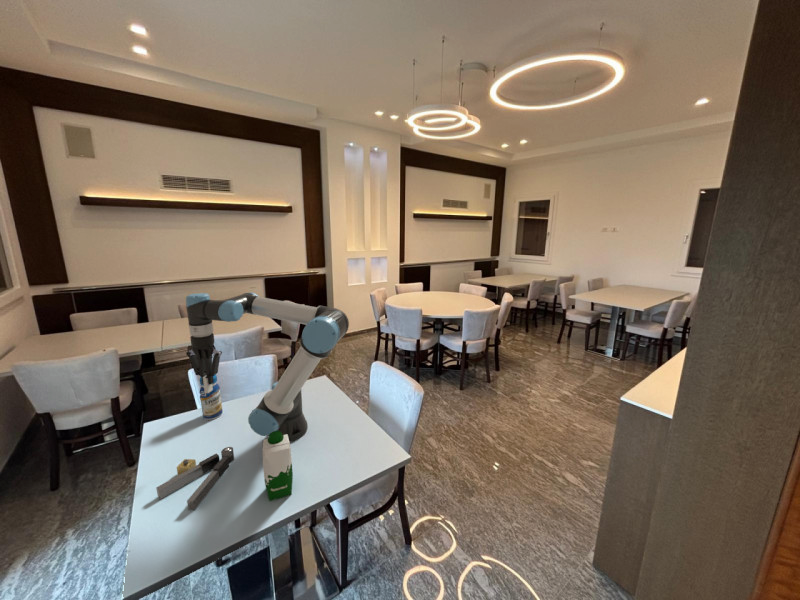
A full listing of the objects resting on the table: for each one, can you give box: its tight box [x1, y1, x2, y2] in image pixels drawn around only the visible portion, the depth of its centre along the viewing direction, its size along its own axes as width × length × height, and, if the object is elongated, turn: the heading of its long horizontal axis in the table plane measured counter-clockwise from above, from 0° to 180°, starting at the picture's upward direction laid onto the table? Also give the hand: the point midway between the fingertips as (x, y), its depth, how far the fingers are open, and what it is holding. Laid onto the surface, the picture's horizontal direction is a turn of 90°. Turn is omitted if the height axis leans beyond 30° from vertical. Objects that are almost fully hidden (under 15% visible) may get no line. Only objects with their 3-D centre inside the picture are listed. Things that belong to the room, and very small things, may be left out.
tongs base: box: [186, 446, 235, 511], centre depth 109 cm, size 24×4×5 cm, turn 178°
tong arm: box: [155, 453, 221, 500], centre depth 109 cm, size 19×2×4 cm, turn 146°
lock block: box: [176, 458, 197, 476], centre depth 112 cm, size 4×4×5 cm
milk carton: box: [261, 431, 294, 502], centre depth 104 cm, size 9×9×20 cm
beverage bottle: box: [199, 374, 224, 421], centre depth 146 cm, size 8×8×20 cm
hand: (208, 391), depth 123 cm, fingers closed
